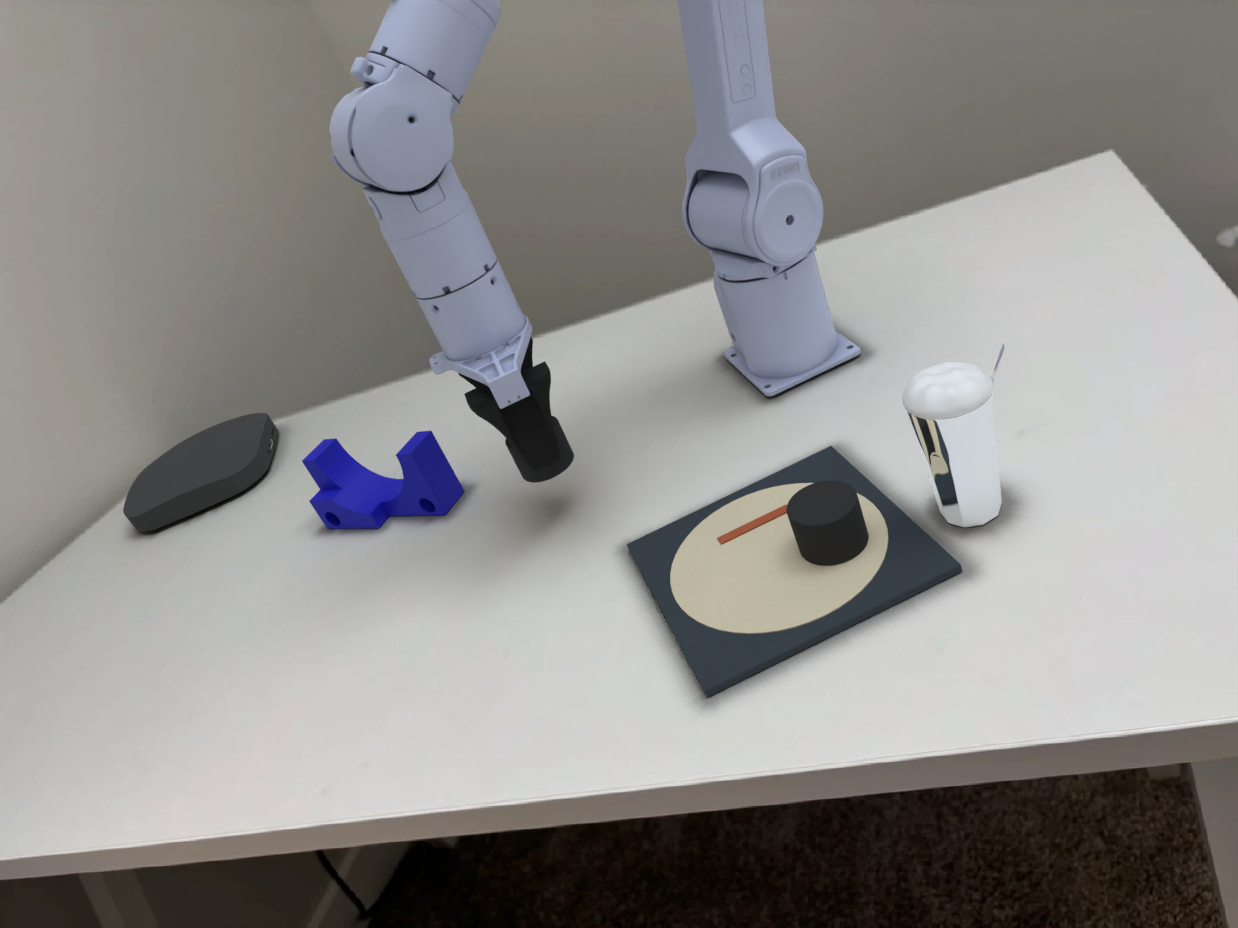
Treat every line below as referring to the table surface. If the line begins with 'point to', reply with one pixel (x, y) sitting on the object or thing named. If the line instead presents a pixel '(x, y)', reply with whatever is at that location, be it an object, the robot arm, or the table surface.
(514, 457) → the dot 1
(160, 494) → the media streaming box
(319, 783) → the table surface
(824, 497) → the dot
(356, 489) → the cable clip
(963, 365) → the milkshake
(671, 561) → the board
